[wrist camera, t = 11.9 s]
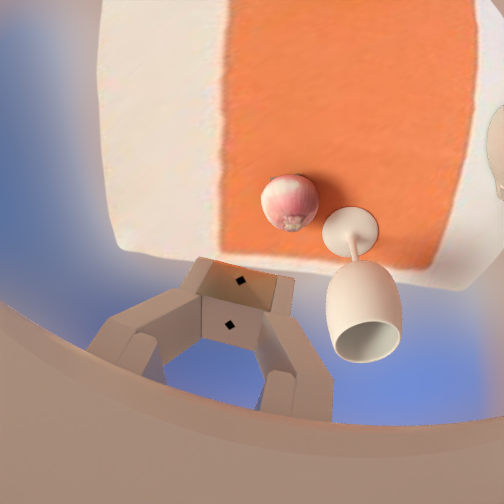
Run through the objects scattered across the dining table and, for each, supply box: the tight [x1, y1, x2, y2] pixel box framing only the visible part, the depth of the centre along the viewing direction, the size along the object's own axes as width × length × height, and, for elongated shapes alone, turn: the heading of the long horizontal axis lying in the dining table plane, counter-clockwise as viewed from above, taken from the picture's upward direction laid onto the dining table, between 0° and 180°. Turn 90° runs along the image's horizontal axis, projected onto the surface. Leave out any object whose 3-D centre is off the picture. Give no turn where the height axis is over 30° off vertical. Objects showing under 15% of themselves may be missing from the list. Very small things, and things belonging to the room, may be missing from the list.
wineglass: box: [322, 207, 402, 363], centre depth 32 cm, size 9×9×21 cm
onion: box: [261, 174, 319, 232], centre depth 37 cm, size 8×8×7 cm
